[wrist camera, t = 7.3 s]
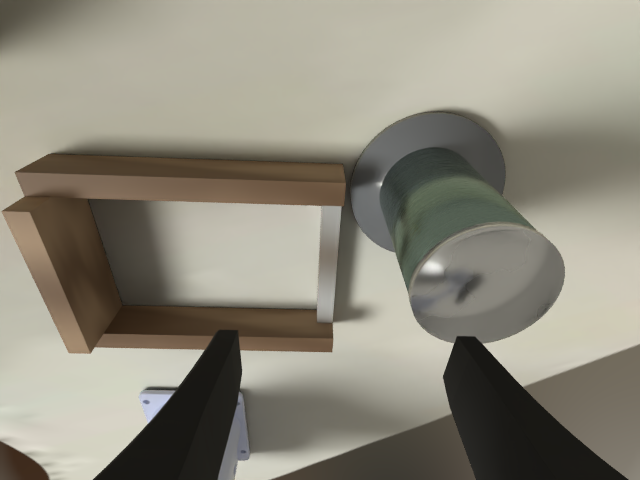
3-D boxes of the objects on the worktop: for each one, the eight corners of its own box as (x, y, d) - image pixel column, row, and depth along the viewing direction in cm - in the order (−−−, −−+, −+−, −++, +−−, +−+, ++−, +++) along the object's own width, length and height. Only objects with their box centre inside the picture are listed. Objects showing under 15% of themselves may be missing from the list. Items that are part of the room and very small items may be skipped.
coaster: (477, 251, 22) (481, 257, 22) (344, 247, 22) (345, 253, 21) (521, 114, 18) (527, 117, 17) (357, 108, 18) (358, 111, 17)
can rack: (330, 323, 25) (333, 372, 22) (108, 318, 25) (75, 367, 21) (342, 163, 19) (348, 197, 16) (48, 153, 19) (-11, 185, 15)
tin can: (459, 238, 21) (527, 348, 14) (370, 230, 21) (396, 339, 14) (490, 151, 18) (593, 235, 11) (389, 141, 18) (433, 220, 11)
